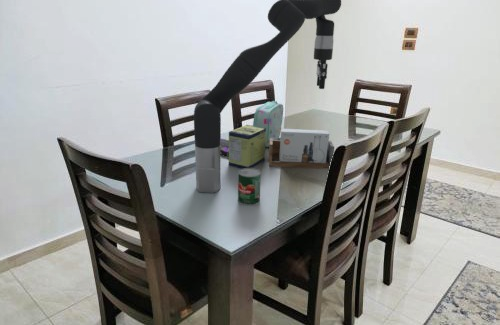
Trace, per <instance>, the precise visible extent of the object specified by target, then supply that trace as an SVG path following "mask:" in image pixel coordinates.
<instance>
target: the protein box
mask: <svg viewBox="0 0 500 325" xmlns="http://www.w3.org/2000/svg"><path fill="white" fill-rule="evenodd" d="M265 138H266V128H262V127H256V126H253V125H249V124H245V125H242V126H240V127H238V128H235V129H232V130H231V131H229V132H228V140H229V158H228V166H232V167H235V168H239V169H243V168H254V167H255V166H257V165H259V164H261V163H262V162H264V161H265V160H266V159H265V158H266V146H265Z"/></svg>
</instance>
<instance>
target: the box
mask: <svg viewBox="0 0 500 325" xmlns="http://www.w3.org/2000/svg"><path fill="white" fill-rule="evenodd" d="M220 156H223V157H226V158H227V159H229V139H226V138H221V139H220Z"/></svg>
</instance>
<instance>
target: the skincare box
mask: <svg viewBox="0 0 500 325" xmlns="http://www.w3.org/2000/svg"><path fill="white" fill-rule="evenodd" d="M329 139H330V132H329V130H321V129H320V130H319V129H301V128H300V129H296V128H281V133H280V139H279V140H280V153H279V159H278V161H282V162H306V163H327V162H326V158H327V150H328V142H329V141H330V140H329Z"/></svg>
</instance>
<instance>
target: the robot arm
mask: <svg viewBox="0 0 500 325" xmlns="http://www.w3.org/2000/svg"><path fill="white" fill-rule="evenodd" d="M341 7H342V0H276V2H274V3H273V4H272V6H271V7H270V9H269V10H268V14H267V19H268V22H269V24H271V25H272V27H274V28H275V29H277V31H279V32H278V33H277V34H275V36H274V37H272V38H271V39H269V40H268V41H266V42H264V43H261V44H258V45H255V46H252V47H251V46H250V47H248V48H246V49H244V50H243V51H241V52H240V53H239V55H237V57H236V58H235V59H234V61H233V62H232V63H231V64H230V66H229V67H228V68H227V70H226V71H225V72H224V73H223V75H222V76H221V78H220V79H219V80H218V82H217V84H216V85H215V86H214V87H213V88H212V89H211V90H210V91H209V92H208V93H207V94H206V95H205V96H204V97H203V98H202V99H200V100H199V102H197V104H196V105H195V106H194V110H193V129H194V135H193V136H194V151H195V152H194V156H195V161H194V162H195V185H196V186H195V188H196V190H197V192H198V193H208V194H209V193H210V194H211V193H212V194H215V193H216V192H217V191H219V190H220V189H221V183H222V182H221V155H220V139H222V138H221V137H222V136H221V131H222V130H221V129H222V128H221V125H222V124H221V123H222V122H221V121H222V120H221V118H222V117H221V113H222V112H223V111H224V109H225V107H226V106H227V105H228V104H229V102H230V101H231V100H232V99H233V98H235V96H237V95H238V94H239V93H240V92H242V91H243V90H245V88H247V87H248V86H249V85H250V84H251V83H252V82H253V81H255V79H256V78H257V76H258V75H259V74H260V73H261V72H262V70H263V69H264V68H265V67H266V65H267V64H268V63H269V62H270V61H271V59H272V58H274V56H275V55H276V54H277V53H278V51H280V50H281V49H282V48H283V47H284V46H285V45H286V44H287V42H289V41H290V40H291V39H292V38H293V37H294V36H295V35H296V34H297V33H298V32H299V30H300V29H301V27H302V26H303V25H304V22H305V21H306V20H312V19H315V22H316V24H315V25H316V26H315V27H316V29H315V31H316V32H315V39H314V48H313V49H314V50H313V60H317V62H316V63H317V64H316V77H317V78H316V86H317V87H318V89H319V90H324V89H325V88H326V87H325V86H326V79H327V73H328V66H329V64H328V63H327V61H331V60H333V54H334V53H333V52H334V51H333V50H334V33H335V22H334V21H333V20H331V19H329V18H328V19H327V18H326V15H328V16H329V15H334V14H336V13H337V12H339V11H340V9H341Z"/></svg>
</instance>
